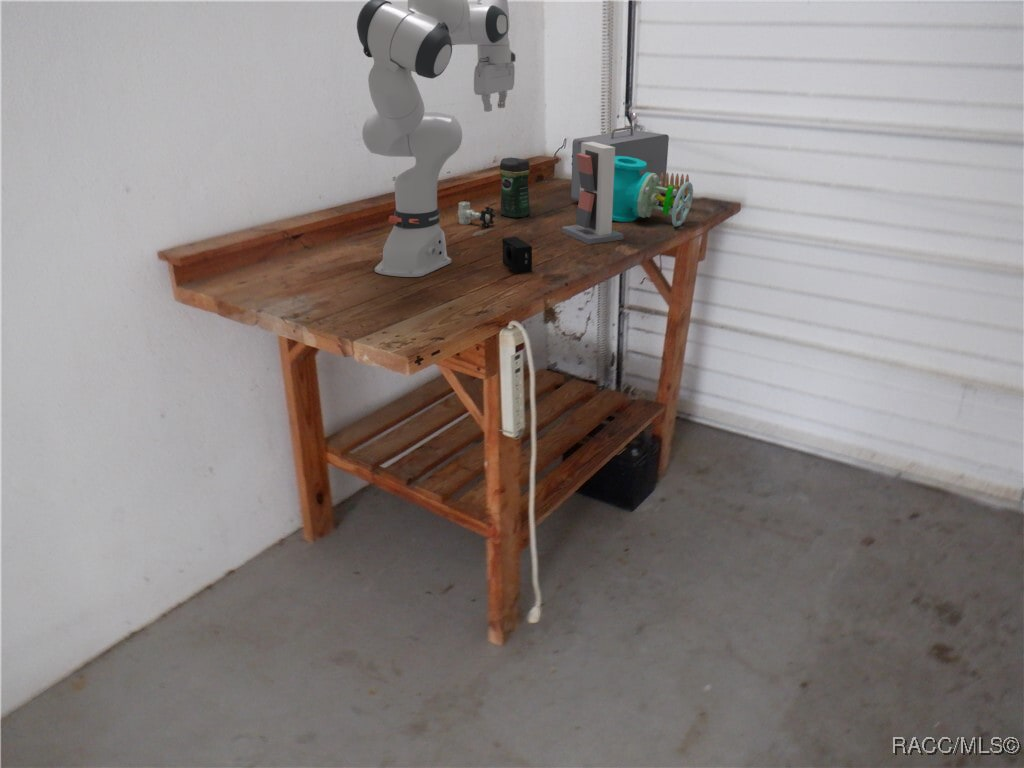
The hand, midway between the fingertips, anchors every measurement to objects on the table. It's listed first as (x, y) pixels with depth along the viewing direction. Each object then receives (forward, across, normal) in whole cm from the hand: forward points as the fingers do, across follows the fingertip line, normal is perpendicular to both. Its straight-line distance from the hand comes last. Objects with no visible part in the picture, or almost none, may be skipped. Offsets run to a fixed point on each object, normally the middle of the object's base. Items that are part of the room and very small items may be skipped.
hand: (494, 109), depth 228 cm
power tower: (+37, +14, -24) cm, 46 cm away
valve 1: (+37, +14, +14) cm, 42 cm away
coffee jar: (+37, +30, +7) cm, 48 cm away
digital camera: (+38, -24, -15) cm, 47 cm away
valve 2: (+37, +37, -35) cm, 63 cm away
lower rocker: (+34, +12, -22) cm, 42 cm away
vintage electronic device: (+37, +64, -19) cm, 76 cm away
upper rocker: (+23, +13, -24) cm, 35 cm away
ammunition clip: (+37, +58, -40) cm, 79 cm away
